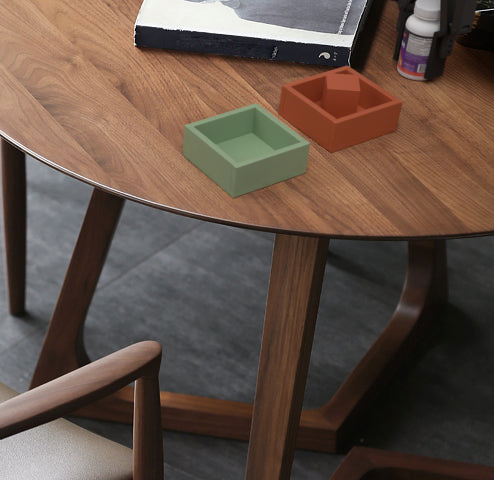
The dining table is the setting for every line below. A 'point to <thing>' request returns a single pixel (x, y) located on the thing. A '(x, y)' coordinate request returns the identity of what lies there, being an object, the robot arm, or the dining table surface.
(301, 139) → the sage bin
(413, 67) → the pill bottle
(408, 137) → the dining table surface
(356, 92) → the red block
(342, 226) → the dining table surface
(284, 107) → the terracotta bin
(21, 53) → the dining table surface
